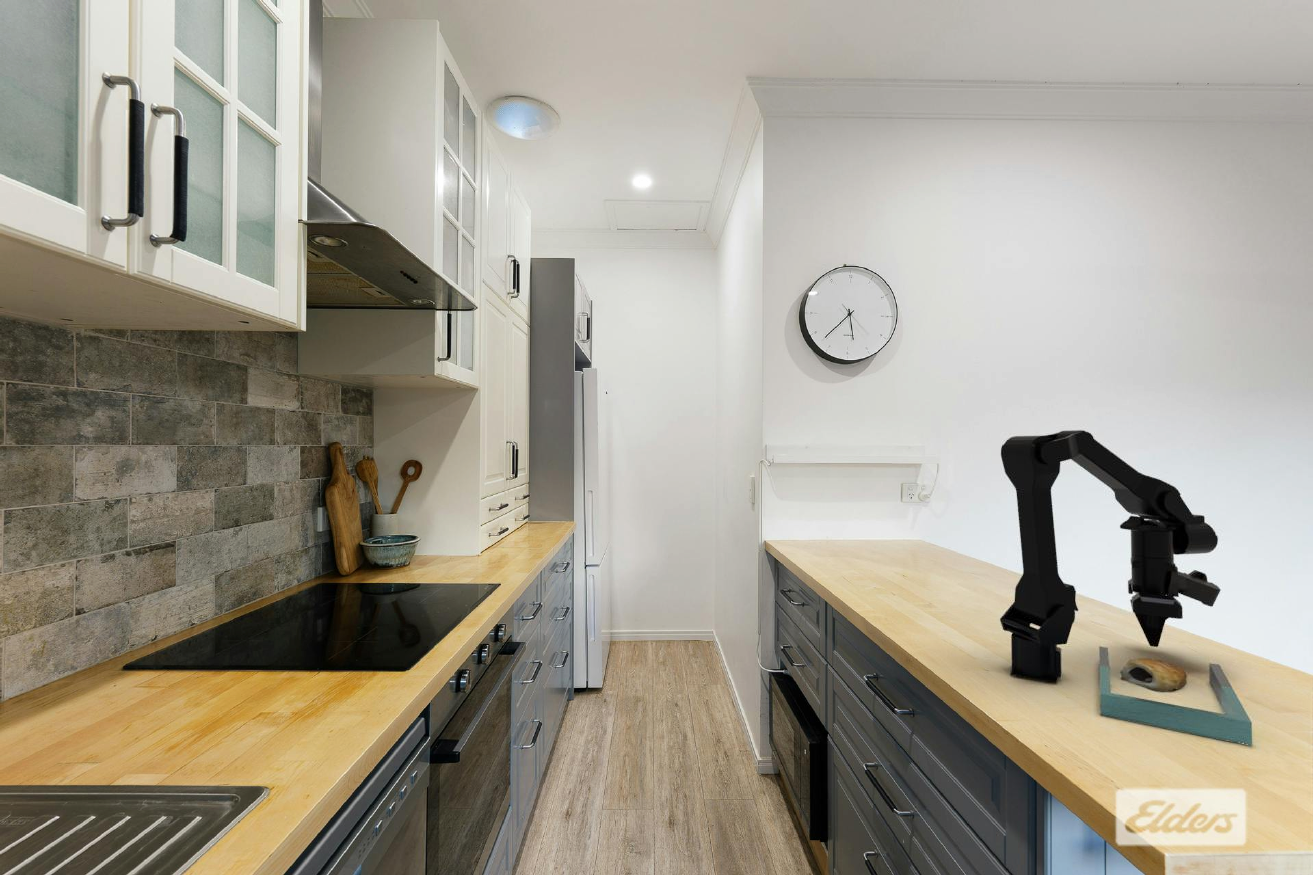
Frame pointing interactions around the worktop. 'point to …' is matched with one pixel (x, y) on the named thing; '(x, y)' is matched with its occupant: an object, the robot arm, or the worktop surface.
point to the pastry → (1154, 674)
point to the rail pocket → (1180, 709)
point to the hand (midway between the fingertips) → (1153, 645)
